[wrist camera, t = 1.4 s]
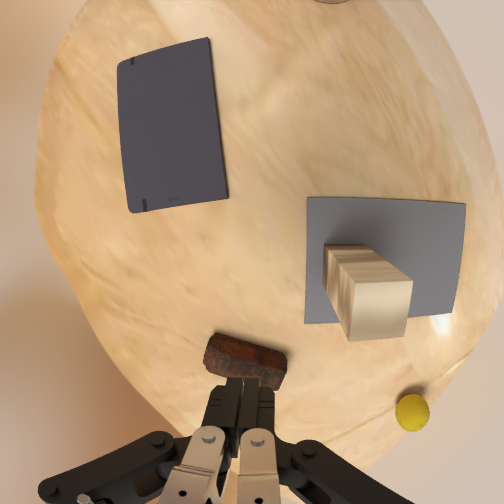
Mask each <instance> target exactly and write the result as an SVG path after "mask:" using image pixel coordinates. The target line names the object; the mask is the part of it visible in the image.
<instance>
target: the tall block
mask: <svg viewBox="0 0 504 504" xmlns="http://www.w3.org/2000/svg"><path fill="white" fill-rule="evenodd" d="M322 284H323V287H324V289H325V291H326V293H327V295H328V297H329V299H330V301H331V304H332V306H333V308H334V310H335V312H336V314H337V317H338V319H339V321H340V323H341V325H342V328H343V330H344V332H345V334H346V337H347V339H348V341H349V342H354V341H367V340H378V339H388V338H398V337H404V332H405V328H406V322H407V317H408V312H409V306H410V300H411V294H412V287H413V280H411V279H410V278H409V277H408V276H406V275H405V274H404V273H402V272H401V271H400V270H398V269H397V268H396V267H394V266H393V265H392V264H390V263H389V262H388V261H386V260H385V259H384V258H382V257H381V256H379V255H378V254H377V253H375V252H374V251H373V250H371V249H370V248H368V247H367V246H366V245H364V244H324V251H323V278H322Z"/></svg>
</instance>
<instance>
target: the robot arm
mask: <svg viewBox="0 0 504 504" xmlns="http://www.w3.org/2000/svg"><path fill="white" fill-rule="evenodd" d="M316 1H320V2H325V3H341V2H345V1H347V0H316ZM274 415H275V393H274V392H273V390H272V388H271V387H260V377H245V382H244V386H243V377H241V376H228V377H227V381H226V386H222V385H217V386H216V387H215V388H214V389H213V390H212V391H211V394H210V397H209V401H208V404H207V407H206V411H205V414H204V418H203V421H202V425H201V427H200V428H198V429H197V430H196V431H195V432H194V433H193V435H191V436H189V437H183V438H173V436H172V435H171V434H169V433H167V432H164V431H155V432H151V433H149V434H147V435H145V436H143V437H141V438H139V439H137V440H135V441H134V442H131V443H129V444H128V445H125V446H123V447H121V448H119V449H117V450H115V451H113V452H111V453H109V454H106V455H104V456H102V457H100V458H97V459H95V460H93V461H91V462H88V463H86V464H83V465H81V466H79V467H76V468H74V469H71V470H69V471H66V472H64V473H61V474H58V475H55V476H53V477H50V478H47V479H45V480H43V481H42V482H41V483H40V484H39V486H38V494H39V496H40V498H41V499H42V500H43V501H44V502H45V503H46V504H145V503H147V502H149V501H151V500H152V499H154V498H156V497H158V496H160V495H161V496H160V498H159V501H158V503H157V504H222V501H223V496H224V493H225V489H226V485H227V481H228V477H229V473H230V465H231V459H232V458H237V457H238V450H239V445H240V471H239V475H238V492H237V504H281V499H280V487H279V484H281V485H285V486H288V487H289V489H290V490H291V491H292V492H293V493H294V494H295V495H296V496H298V497H299V498H300V499H301V500H302V501H303V502H305V503H306V504H414V503H413V502H411V501H409V500H407V499H405V498H404V497H402V496H400V495H399V494H397V493H395V492H393V491H392V490H390V489H388V488H387V487H385V486H383V485H382V484H380V483H379V482H377V481H376V480H374V479H372V478H371V477H369V476H368V475H366V474H365V473H363V472H362V471H360V470H359V469H357V468H356V467H354V466H353V465H351V464H350V463H348V462H347V461H345V460H344V459H343V458H341V457H340V456H338V455H337V454H335V453H334V452H333V451H331V450H330V449H329V448H327V447H326V446H324V445H323V444H322V443H320V442H318V441H315V440H303V441H300V442H298V443H297V444H291V443H287V442H284V441H282V440H280V439H279V438H278V437H277V436H276V434H275V431H274Z"/></svg>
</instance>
